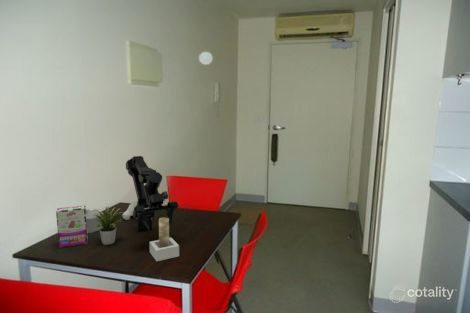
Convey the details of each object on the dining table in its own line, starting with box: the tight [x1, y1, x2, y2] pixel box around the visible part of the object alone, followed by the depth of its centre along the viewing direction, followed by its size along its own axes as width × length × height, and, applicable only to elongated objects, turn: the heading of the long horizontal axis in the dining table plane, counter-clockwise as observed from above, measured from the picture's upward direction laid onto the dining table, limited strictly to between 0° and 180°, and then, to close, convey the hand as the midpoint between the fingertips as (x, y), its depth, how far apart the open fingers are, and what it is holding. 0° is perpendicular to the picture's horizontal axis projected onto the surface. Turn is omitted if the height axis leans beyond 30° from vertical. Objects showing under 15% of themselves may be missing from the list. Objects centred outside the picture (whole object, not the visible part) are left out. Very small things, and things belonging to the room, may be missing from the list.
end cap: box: [149, 237, 180, 262], centre depth 130 cm, size 9×9×4 cm
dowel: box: [158, 216, 170, 248], centre depth 130 cm, size 4×4×14 cm
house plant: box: [92, 206, 124, 246], centre depth 139 cm, size 14×14×16 cm
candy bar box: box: [55, 205, 88, 249], centre depth 137 cm, size 11×5×16 cm, turn 114°
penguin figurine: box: [122, 200, 138, 221], centre depth 173 cm, size 6×8×12 cm
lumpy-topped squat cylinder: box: [86, 208, 105, 234], centre depth 157 cm, size 10×13×9 cm
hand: (160, 227), depth 133 cm, fingers open, 9 cm apart
